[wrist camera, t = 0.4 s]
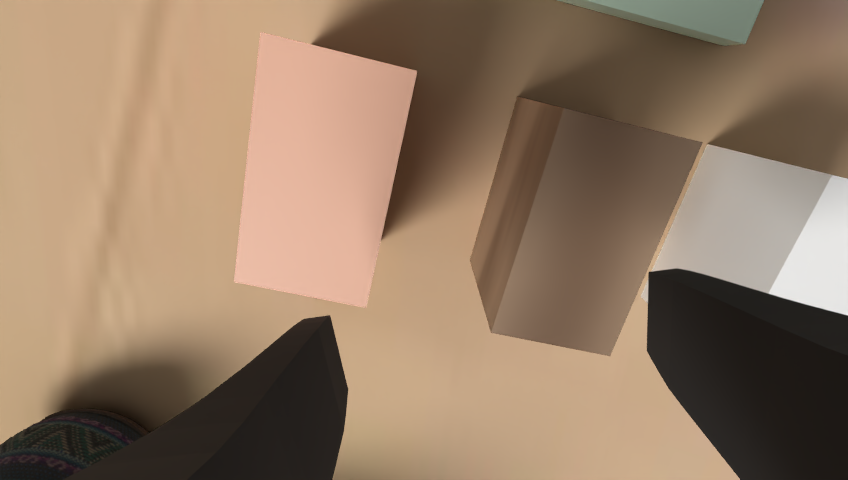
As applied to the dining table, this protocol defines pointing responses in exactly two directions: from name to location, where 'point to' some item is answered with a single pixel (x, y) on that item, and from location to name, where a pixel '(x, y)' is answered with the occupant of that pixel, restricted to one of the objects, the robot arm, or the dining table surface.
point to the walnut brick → (574, 224)
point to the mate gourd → (65, 444)
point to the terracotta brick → (319, 169)
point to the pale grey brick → (763, 228)
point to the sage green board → (686, 16)
